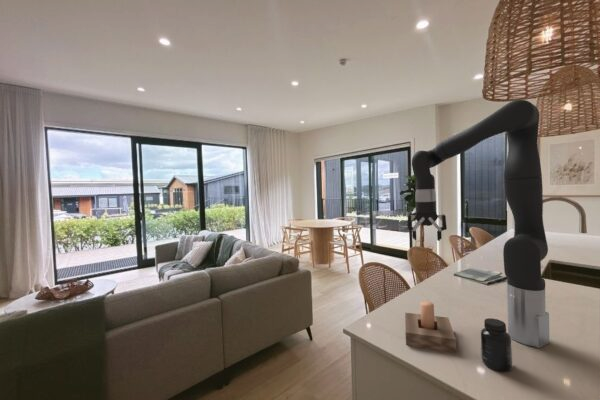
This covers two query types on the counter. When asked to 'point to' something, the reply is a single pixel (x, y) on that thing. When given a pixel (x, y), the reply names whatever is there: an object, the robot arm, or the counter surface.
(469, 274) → the dish towel
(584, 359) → the counter surface
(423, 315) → the pin
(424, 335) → the socket block
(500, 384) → the counter surface
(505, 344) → the supplement bottle
